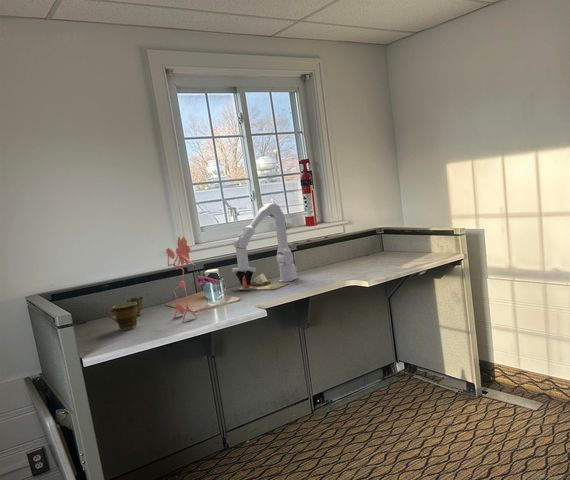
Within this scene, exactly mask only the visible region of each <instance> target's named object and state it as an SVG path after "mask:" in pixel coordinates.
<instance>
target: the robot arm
mask: <svg viewBox="0 0 570 480" xmlns="http://www.w3.org/2000/svg"><path fill="white" fill-rule="evenodd" d="M267 217H270V218H272V219H273V220H274V223H275V231H276V237H277V238H276V240H277V247H278V248H277V250H276V257H275V259H276V261H277V263H278V266H279V268H278V269H279V275H280V279H279V280H277V282H281V283H282V282H284V283H286V282H293V281H295V280H298V279H299V277H297V276H298V275H297V274H298V273H297V267H296V265H295V264H294V263H293V261H294V255H293V254H292V250H291V249H290V248H289V247H290V246H289V243H288V235H287V225H286V217H285V214H284V212H283V210H282V209H281V206H280V205H279V204H277V203H275V202H272V203H264V204H262V206H261V208H259V210H258V212H257V213H256V214H255V216H254V218H253V219H252V221H251V222H250V224H249V225H246V226H244V227H243V228H242V231H241V232H240V233H239V234H238V235H237V236H238V237H236V238H235V239H234V241H233V243H232V244H233V247H234V248H235V252H236V253H235V254H236V260H237V267H233V268H232V269H231V270H232V273H235V276H236V278H238V280H239V283H240V285H241V286H243V284H242V280H243V276H245V278H246V283H247V285H250V284H251V282H252V277H253V274H254V272H256V271H257V269H256V267H251V266H249V258H248V257H249V255H248V249H247V247H248V246H249V241H250V240H251V238H252V237H253V235H254V234H255V233H256V228H257V227H258V225H259V224H260V223H261V222H262V221H263V220H264V218H267Z"/></svg>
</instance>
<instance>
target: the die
mask: <svg viewBox="0 0 570 480" xmlns="http://www.w3.org/2000/svg"><path fill="white" fill-rule="evenodd" d="M253 281H255V283H256V284H261V283H264V282H266V281H268V279H267V277H266V276H265V274H264V273H260V274H259V275H257V276H255V277H254V278H253Z"/></svg>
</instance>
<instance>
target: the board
mask: <svg viewBox="0 0 570 480" xmlns="http://www.w3.org/2000/svg"><path fill="white" fill-rule="evenodd" d="M289 285H290V283H271V280H267V281H266V282H264V283H261V284H256V283H255V281H254V280H253V281H252V280H251V284H250V285H249V288H243V286H242V287H240V288H238V291H277V290H278V289H281V288H284V287H286V286H289Z"/></svg>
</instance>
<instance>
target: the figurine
mask: <svg viewBox="0 0 570 480" xmlns="http://www.w3.org/2000/svg"><path fill="white" fill-rule="evenodd" d="M176 245H177V248H176V249H175V252H174V251H173V250H172V249H170V248H169V247H168V248H167V249H166V250H165V251H166V254H167V266H168V267H171V266H172V267H174V268H175V270H179V269H180V270H182V278H181V279H182V280H180V281H179V282H178V285H179V286H177V287H175V288H174V289H173V293H174V297H175V300H176V302H177V303H176V304H175V313H174V316H173V319H176V316H177V313H178V312H179V314H181V315H183V317H182V321H185V319H186V316H187V315H186V314H187V313H191V314H192V315H193V316H195V318H199V317H198V316H197V315H196V314H195V310H192V309H191V308H190V307H189V303H188V295H187V289H186V282H185V281H184V278H185V277H184V276H185V269H184V268H183V267H180V265H181V266H183V265H184V263H185V264H186V265H189V263H190V264H191V265H192V266H196V264H195V263H193V261H191V260H190V254H189V253H190V252H191V251H192V250H191V247H190V246H189V245H188V240H187V239H186V237H185V236H182V238H181V237H180V236H178V237H177V244H176ZM174 258H175V259H174ZM170 259H172V260H174V262H173V263H171V264H170ZM177 260H178V264H176V262H177ZM178 288H184V292H185V297H186V298H185V299H186V305H185V306H184V307H185V308H184V307H183V305H181V303H179V301H178V297H177V294H176V291H175V290H177V289H178ZM202 312H205V313H209V314H210V312H209V311H207V310H205V311H204V310H202Z"/></svg>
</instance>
